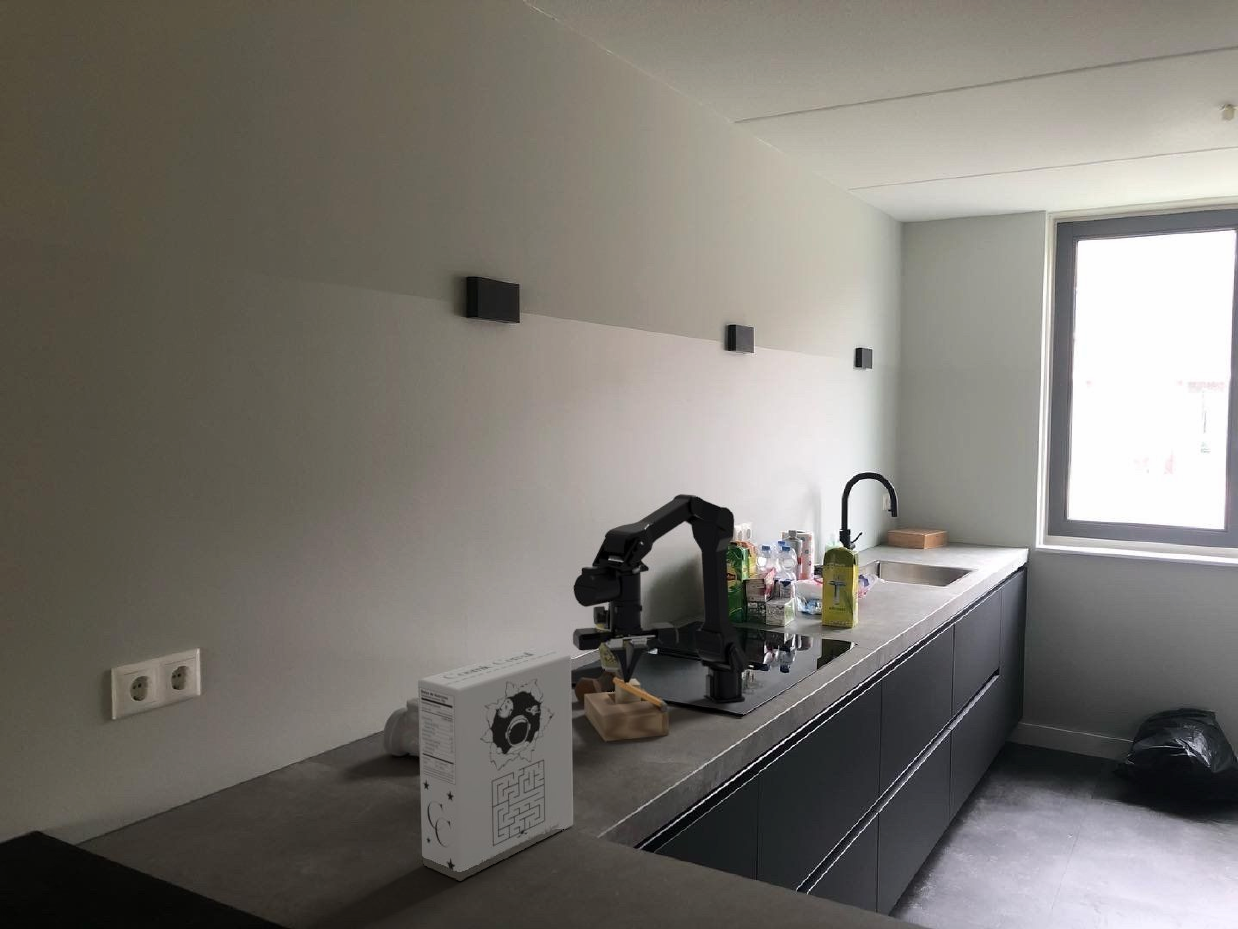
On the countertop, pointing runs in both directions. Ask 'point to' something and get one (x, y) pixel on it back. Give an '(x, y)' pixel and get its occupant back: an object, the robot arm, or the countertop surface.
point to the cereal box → (495, 755)
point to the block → (625, 717)
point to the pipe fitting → (403, 730)
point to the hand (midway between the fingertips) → (626, 682)
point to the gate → (638, 692)
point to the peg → (627, 693)
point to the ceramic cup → (607, 652)
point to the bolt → (596, 684)
